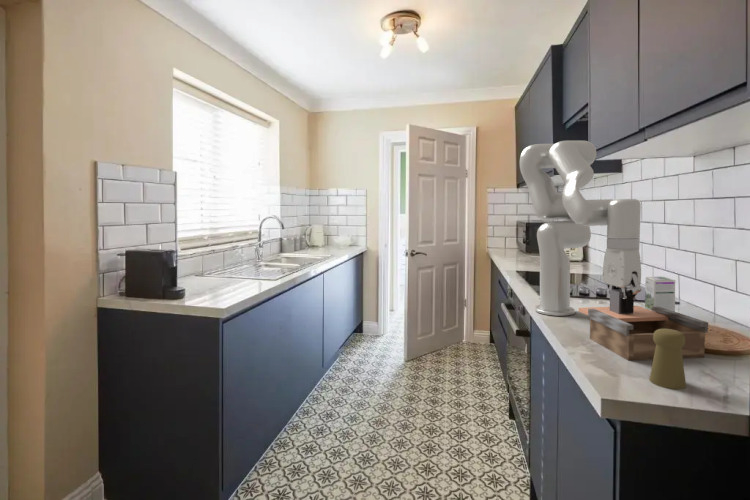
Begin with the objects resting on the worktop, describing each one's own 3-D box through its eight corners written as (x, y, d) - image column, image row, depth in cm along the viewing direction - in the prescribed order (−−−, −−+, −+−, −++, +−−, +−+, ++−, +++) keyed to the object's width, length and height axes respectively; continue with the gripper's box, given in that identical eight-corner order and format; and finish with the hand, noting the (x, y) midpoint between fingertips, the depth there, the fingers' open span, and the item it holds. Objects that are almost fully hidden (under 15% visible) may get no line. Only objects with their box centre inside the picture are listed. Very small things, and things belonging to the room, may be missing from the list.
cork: (674, 391, 75) (676, 336, 74) (642, 380, 80) (644, 328, 79) (693, 385, 77) (695, 331, 76) (660, 374, 83) (662, 324, 82)
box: (587, 338, 107) (588, 308, 106) (656, 335, 107) (657, 306, 106) (625, 360, 91) (626, 325, 90) (706, 357, 91) (708, 322, 90)
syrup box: (675, 328, 113) (677, 279, 111) (652, 328, 114) (654, 279, 112) (664, 323, 118) (666, 276, 117) (643, 322, 119) (644, 276, 118)
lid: (578, 311, 113) (578, 287, 112) (637, 308, 113) (637, 285, 112) (603, 322, 101) (603, 296, 100) (668, 320, 101) (669, 293, 100)
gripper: (591, 242, 113) (590, 304, 115) (629, 247, 97) (627, 319, 98) (617, 242, 113) (615, 303, 115) (659, 246, 97) (656, 318, 99)
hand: (621, 309), depth 107 cm, fingers closed on lid, 4 cm apart
